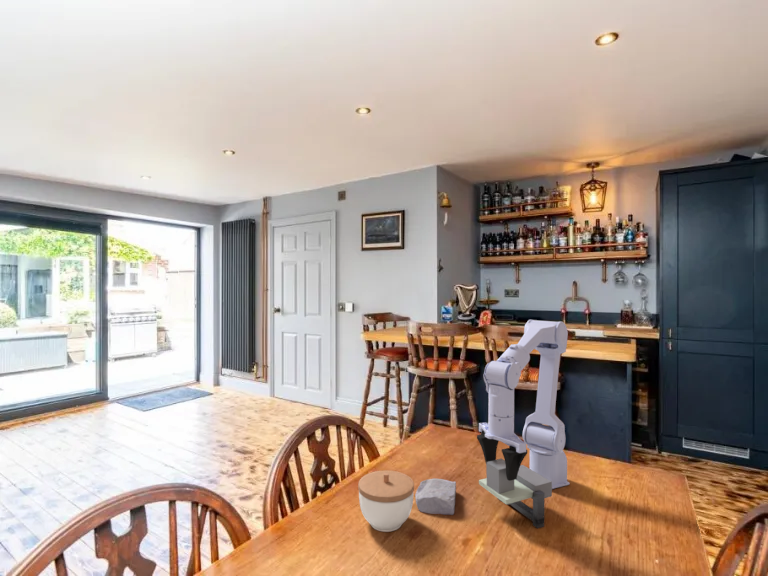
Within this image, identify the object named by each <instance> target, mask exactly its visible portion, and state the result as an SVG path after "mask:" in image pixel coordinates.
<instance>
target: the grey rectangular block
mask: <svg viewBox="0 0 768 576" xmlns="http://www.w3.org/2000/svg"><path fill="white" fill-rule="evenodd" d="M485 466H486V467H485V468H486V470H485V471H486V478H487V486H488V487H490V488H491V489H493V490H494V491H495V492H497V493H498V494H501V493H505V492H508V491H511V490H514V480H511V481H509V480H507V476H506V464H505V459H504V458H498V459H497V458H496V460H493V461H489V462H485Z"/></svg>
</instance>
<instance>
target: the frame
mask: <svg viewBox="0 0 768 576" xmlns="http://www.w3.org/2000/svg"><path fill="white" fill-rule="evenodd" d="M544 497H545V493H544V492H542V491H540V490H538V491H534V492H533V499H532V508H531V507H530V506H529V505H527V504H526V503H524V502H523V500H521V501H517V502H514V503H510V504H509V505H510V506H511V507H513V508H514V509H515V510H517V511H518V512H519V513H521V514H522V515H523V516H524V517H526V518H527V519H529V520H530V521H531V522H532V526H533V527H535V528H536V529H541V528H544V527H545V498H544ZM496 498H497V497H496ZM497 500H499V499H498V498H497ZM499 501H500V502H502V501H501V500H499Z"/></svg>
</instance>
